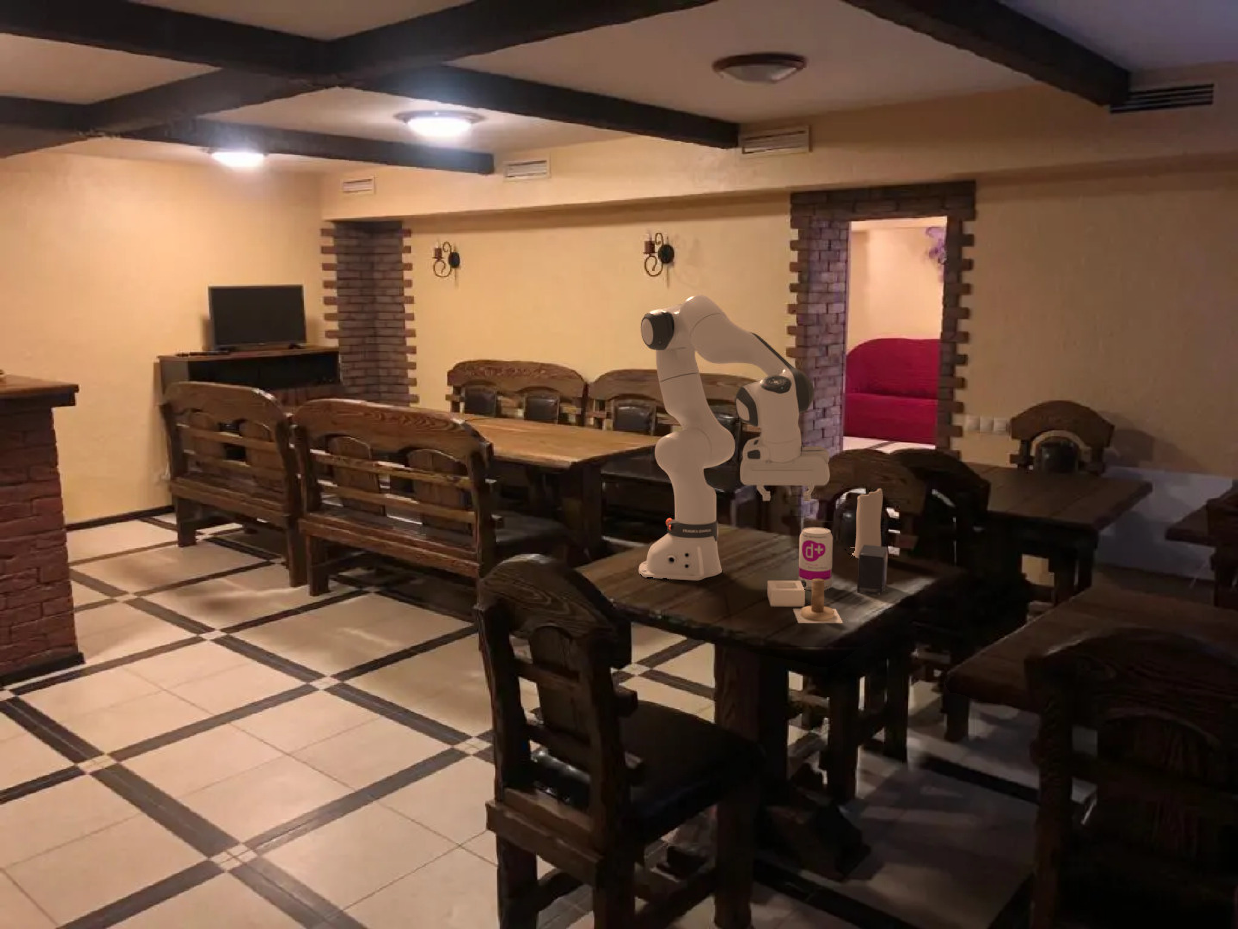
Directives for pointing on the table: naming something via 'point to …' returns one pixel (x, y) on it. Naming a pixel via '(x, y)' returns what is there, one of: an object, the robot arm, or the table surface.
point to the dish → (786, 593)
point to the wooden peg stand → (817, 604)
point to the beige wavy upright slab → (868, 520)
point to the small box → (872, 569)
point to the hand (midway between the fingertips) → (786, 500)
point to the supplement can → (815, 556)
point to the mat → (803, 620)
